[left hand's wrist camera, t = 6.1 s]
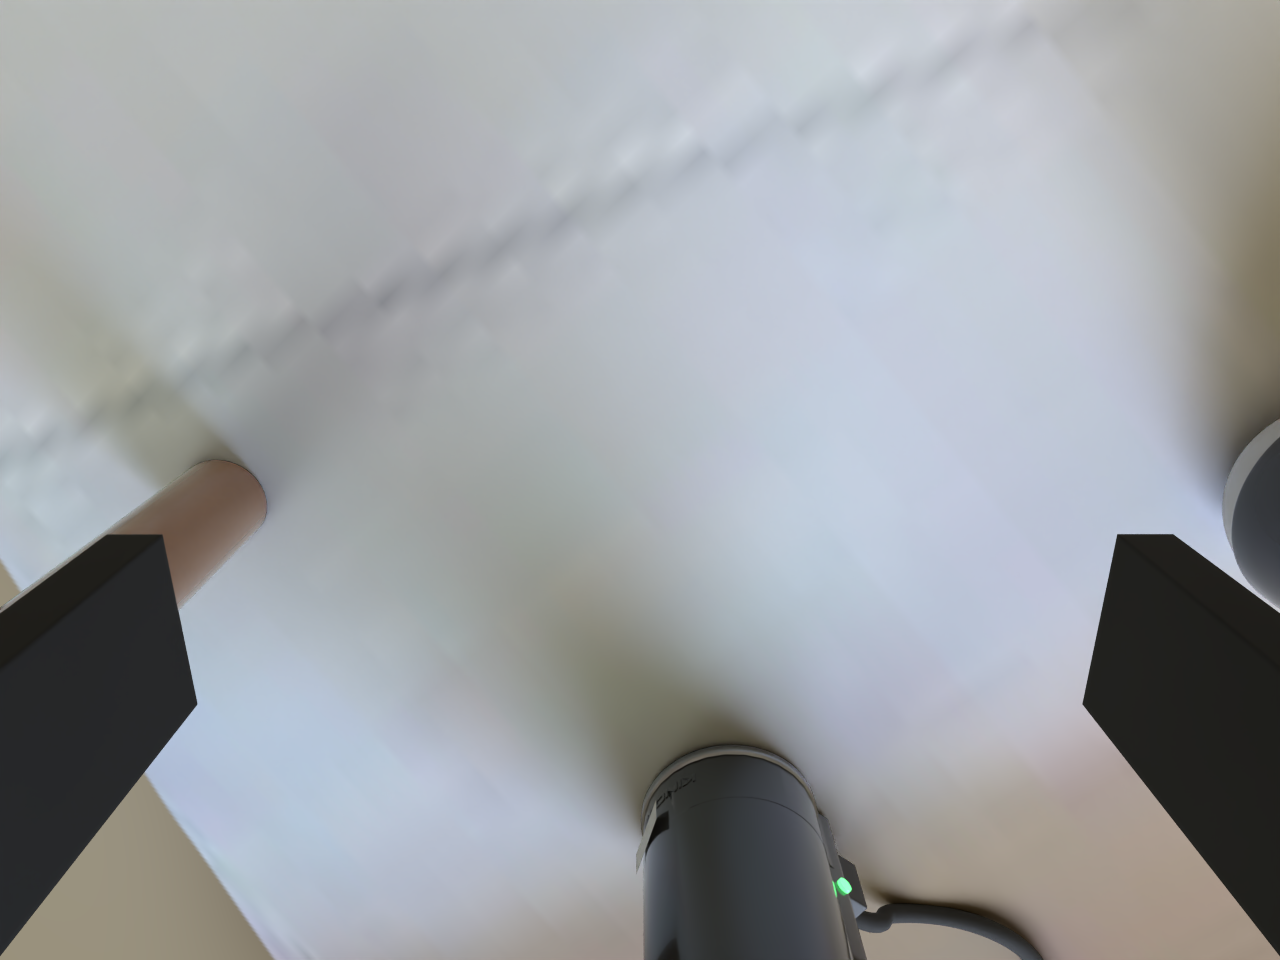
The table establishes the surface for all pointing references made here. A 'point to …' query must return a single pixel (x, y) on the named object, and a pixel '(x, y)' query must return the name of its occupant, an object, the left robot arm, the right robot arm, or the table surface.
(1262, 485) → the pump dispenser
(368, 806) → the table surface
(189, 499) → the pinkish beige cylinder
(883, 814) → the table surface
